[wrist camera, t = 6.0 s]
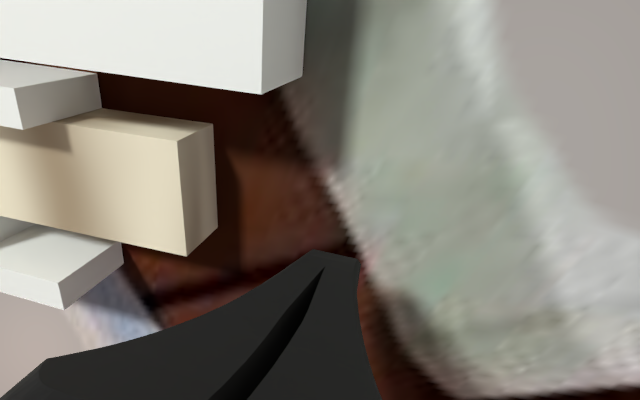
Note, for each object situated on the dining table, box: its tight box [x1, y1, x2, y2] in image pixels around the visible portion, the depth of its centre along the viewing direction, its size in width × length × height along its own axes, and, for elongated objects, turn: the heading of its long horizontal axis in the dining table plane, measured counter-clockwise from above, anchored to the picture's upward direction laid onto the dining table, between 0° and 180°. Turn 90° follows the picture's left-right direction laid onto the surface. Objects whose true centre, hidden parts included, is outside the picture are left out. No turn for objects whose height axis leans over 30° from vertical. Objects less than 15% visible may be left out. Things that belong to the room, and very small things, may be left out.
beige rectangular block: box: [0, 108, 218, 257], centre depth 15 cm, size 8×4×2 cm, turn 86°
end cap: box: [0, 60, 124, 310], centre depth 16 cm, size 6×8×3 cm
